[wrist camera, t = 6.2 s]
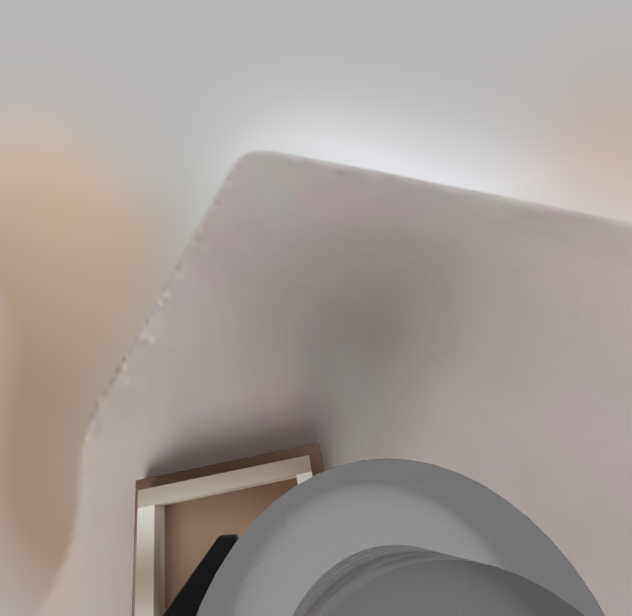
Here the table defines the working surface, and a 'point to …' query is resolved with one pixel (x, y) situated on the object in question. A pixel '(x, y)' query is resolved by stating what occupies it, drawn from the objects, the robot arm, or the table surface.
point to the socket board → (203, 516)
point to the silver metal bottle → (395, 551)
